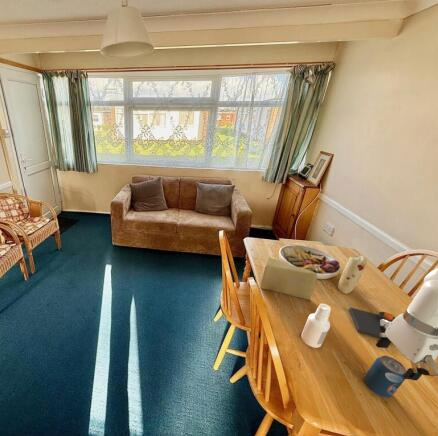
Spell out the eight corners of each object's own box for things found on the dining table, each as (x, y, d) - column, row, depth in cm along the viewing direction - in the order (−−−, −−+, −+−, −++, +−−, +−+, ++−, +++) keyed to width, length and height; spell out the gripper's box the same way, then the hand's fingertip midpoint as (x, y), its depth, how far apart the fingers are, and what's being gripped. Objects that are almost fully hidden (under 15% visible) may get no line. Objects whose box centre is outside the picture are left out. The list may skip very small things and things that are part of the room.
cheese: (309, 293, 115) (319, 269, 108) (310, 305, 107) (320, 280, 101) (261, 278, 125) (267, 255, 119) (259, 288, 118) (265, 264, 111)
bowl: (275, 270, 131) (278, 259, 128) (279, 246, 154) (282, 236, 151) (340, 289, 117) (346, 277, 113) (334, 260, 140) (338, 249, 136)
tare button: (390, 316, 98) (392, 313, 97) (393, 321, 95) (395, 318, 95) (381, 314, 99) (383, 311, 98) (384, 318, 96) (386, 316, 96)
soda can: (389, 404, 71) (407, 381, 66) (360, 385, 76) (375, 362, 71) (393, 389, 75) (410, 366, 70) (365, 372, 80) (380, 349, 75)
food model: (351, 298, 111) (367, 264, 103) (334, 291, 116) (349, 258, 107) (354, 288, 117) (370, 256, 109) (338, 282, 122) (352, 250, 113)
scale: (390, 320, 99) (393, 314, 98) (405, 346, 88) (410, 340, 87) (347, 308, 105) (350, 303, 104) (357, 332, 94) (360, 326, 93)
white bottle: (324, 349, 87) (341, 315, 80) (305, 346, 88) (319, 313, 81) (316, 334, 93) (330, 301, 86) (297, 331, 94) (310, 299, 87)
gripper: (477, 353, 54) (437, 394, 61) (408, 299, 70) (383, 337, 77) (442, 350, 55) (407, 391, 62) (382, 297, 70) (360, 335, 78)
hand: (394, 361), depth 69 cm, fingers open, 9 cm apart
